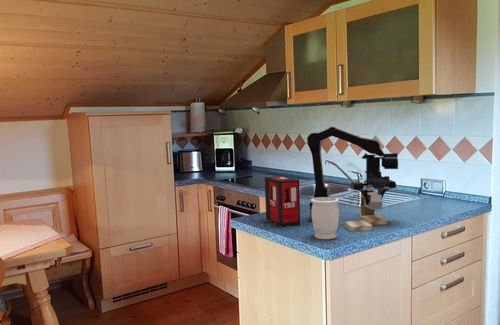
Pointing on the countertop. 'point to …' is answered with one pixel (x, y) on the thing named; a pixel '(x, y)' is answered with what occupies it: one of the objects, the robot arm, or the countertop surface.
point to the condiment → (365, 210)
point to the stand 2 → (374, 219)
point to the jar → (325, 217)
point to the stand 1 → (357, 226)
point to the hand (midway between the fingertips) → (373, 204)
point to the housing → (374, 200)
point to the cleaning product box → (282, 200)
